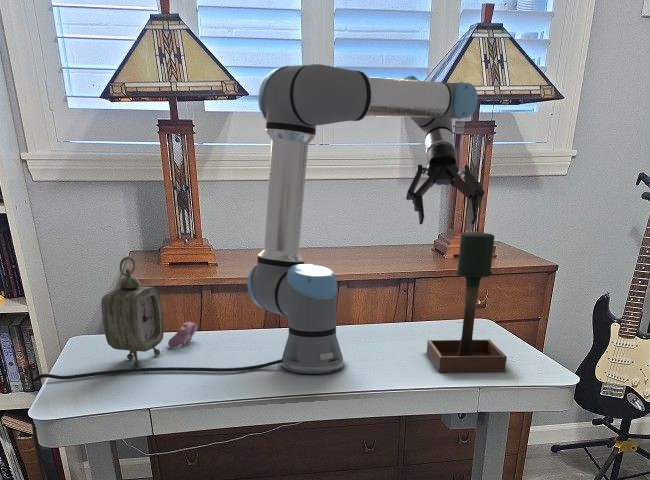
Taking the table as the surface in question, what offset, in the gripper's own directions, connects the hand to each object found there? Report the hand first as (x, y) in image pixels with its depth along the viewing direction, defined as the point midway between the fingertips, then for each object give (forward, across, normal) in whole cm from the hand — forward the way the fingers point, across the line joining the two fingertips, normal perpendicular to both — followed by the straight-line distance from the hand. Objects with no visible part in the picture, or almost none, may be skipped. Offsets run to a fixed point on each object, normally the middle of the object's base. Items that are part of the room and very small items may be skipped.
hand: (447, 220), depth 180 cm
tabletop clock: (+32, +80, -13) cm, 87 cm away
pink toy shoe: (+22, +70, -24) cm, 77 cm away
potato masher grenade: (+35, -3, -9) cm, 36 cm away
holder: (+36, -3, -9) cm, 37 cm away
